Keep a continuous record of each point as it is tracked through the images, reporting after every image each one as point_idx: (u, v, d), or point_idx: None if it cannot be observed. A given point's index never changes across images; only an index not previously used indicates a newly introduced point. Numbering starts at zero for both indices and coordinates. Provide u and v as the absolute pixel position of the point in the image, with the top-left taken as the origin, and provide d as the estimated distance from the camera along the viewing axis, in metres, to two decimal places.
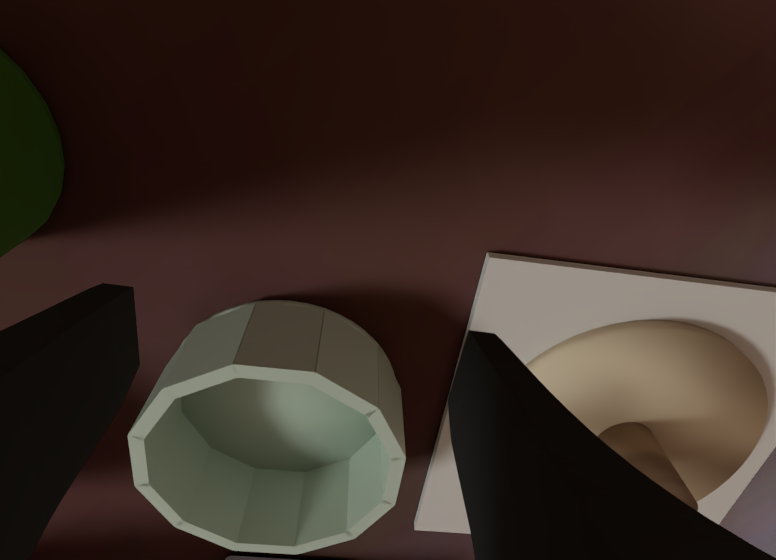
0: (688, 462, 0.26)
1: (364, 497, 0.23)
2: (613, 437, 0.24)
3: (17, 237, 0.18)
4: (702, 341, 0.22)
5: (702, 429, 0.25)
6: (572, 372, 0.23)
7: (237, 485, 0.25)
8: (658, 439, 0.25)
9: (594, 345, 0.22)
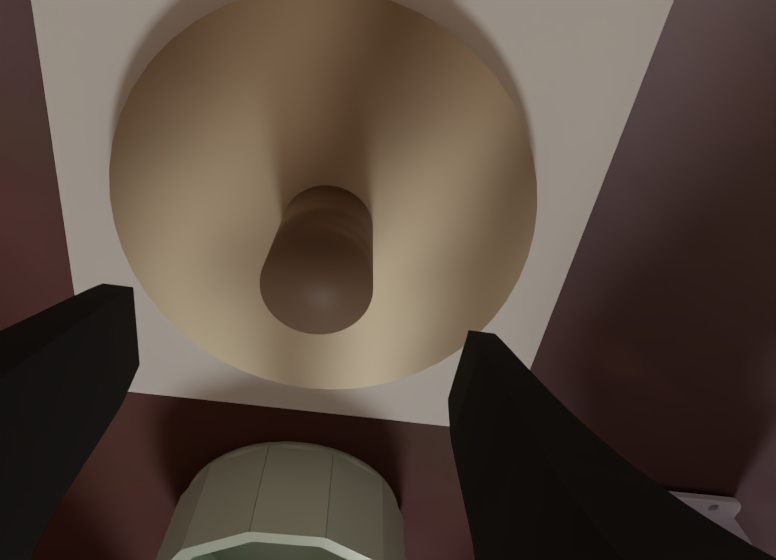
0: (372, 111, 0.15)
1: None
2: None
3: None
4: (121, 163, 0.16)
5: (292, 109, 0.15)
6: (201, 314, 0.18)
7: None
8: (317, 177, 0.16)
9: (156, 296, 0.18)
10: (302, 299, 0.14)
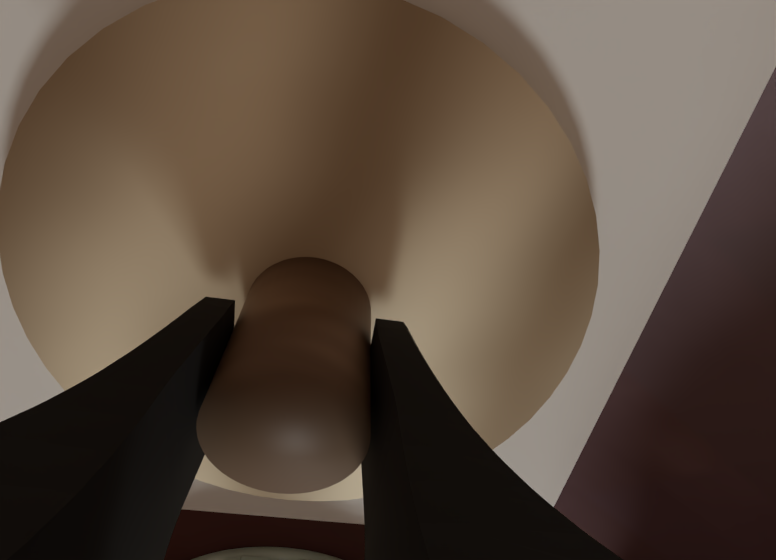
0: (370, 157, 0.10)
1: None
2: None
3: None
4: (13, 229, 0.11)
5: (254, 156, 0.10)
6: None
7: None
8: (293, 246, 0.11)
9: None
10: (263, 451, 0.09)
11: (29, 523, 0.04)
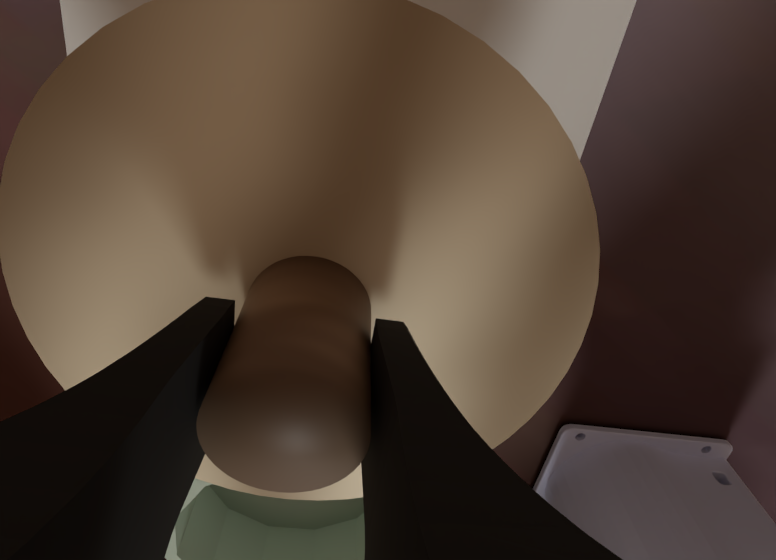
0: (370, 156, 0.10)
1: None
2: None
3: None
4: (13, 228, 0.11)
5: (254, 155, 0.10)
6: None
7: None
8: (293, 244, 0.11)
9: None
10: (263, 449, 0.09)
11: (29, 523, 0.04)
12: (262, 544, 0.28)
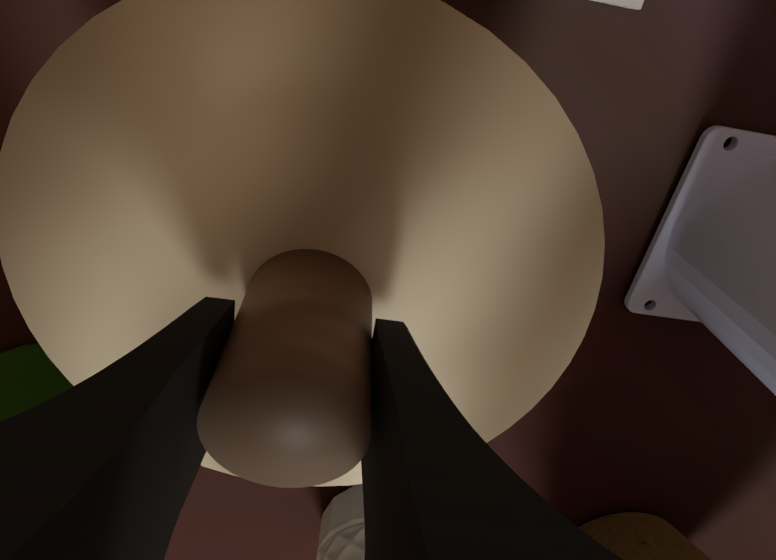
0: (371, 148, 0.10)
1: None
2: None
3: None
4: (10, 221, 0.11)
5: (253, 147, 0.10)
6: None
7: None
8: (293, 238, 0.11)
9: None
10: (264, 447, 0.09)
11: (29, 523, 0.04)
12: None
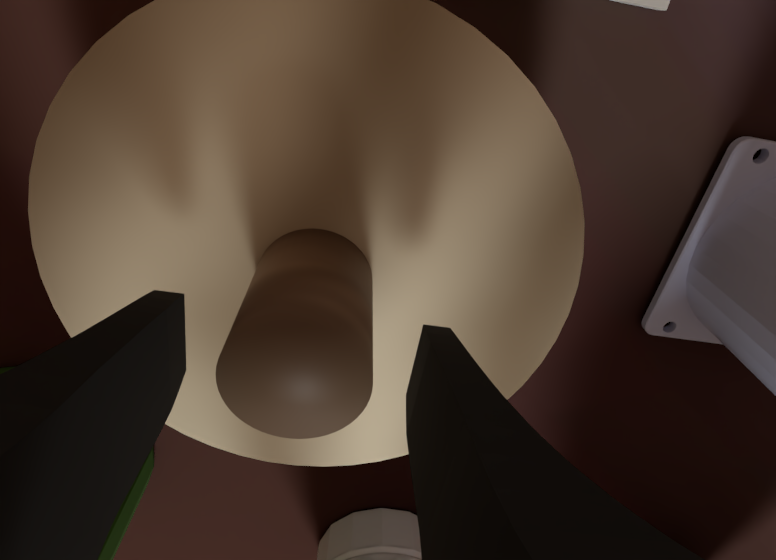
0: (371, 134, 0.11)
1: None
2: None
3: None
4: (42, 203, 0.12)
5: (265, 133, 0.11)
6: None
7: None
8: (300, 218, 0.12)
9: None
10: (275, 397, 0.10)
11: None
12: None
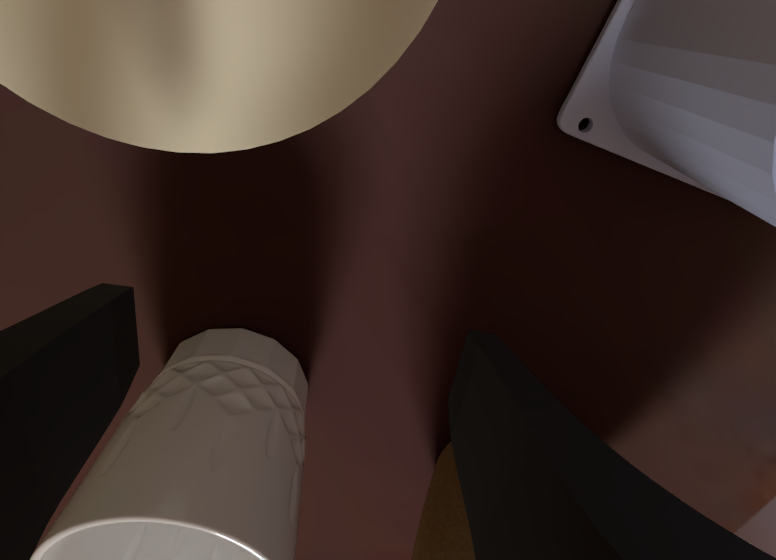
0: None
1: None
2: None
3: None
4: None
5: None
6: None
7: None
8: None
9: None
10: None
11: None
12: None
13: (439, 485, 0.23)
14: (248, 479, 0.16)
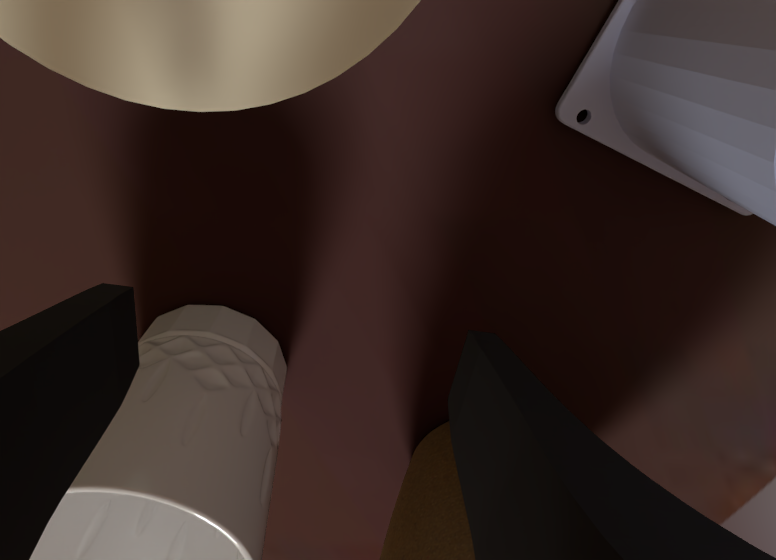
0: None
1: None
2: None
3: None
4: None
5: None
6: None
7: None
8: None
9: None
10: None
11: None
12: None
13: (415, 476, 0.23)
14: (220, 456, 0.15)
